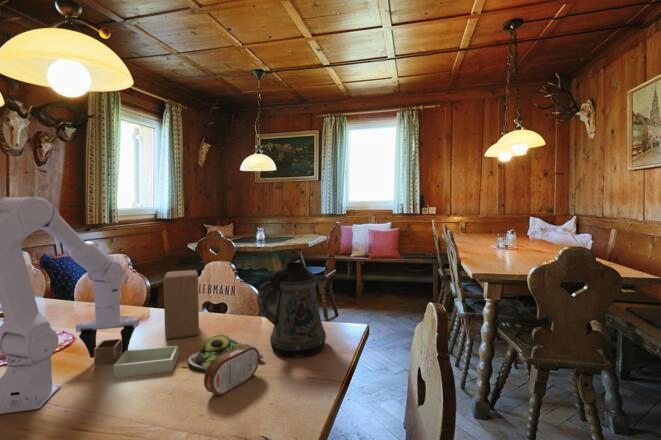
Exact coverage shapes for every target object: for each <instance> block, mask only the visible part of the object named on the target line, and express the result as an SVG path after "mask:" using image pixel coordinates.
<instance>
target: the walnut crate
mask: <svg viewBox="0 0 661 440" xmlns="http://www.w3.org/2000/svg"><path fill="white" fill-rule="evenodd" d="M122 355H123V354H122V338H115V339H114V338H113V339H103V340H101V341H100V342H99V343H98V344H96V347H95V348H94V357H93V361H94V362H93V364H94V365H93V366H94V368H101V367H102V368H103V367H111V366H114V365H115V363H116V362H117V361H118V360H119V358H120V357H121V356H122Z"/></svg>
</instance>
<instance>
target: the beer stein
mask: <svg viewBox="0 0 661 440" xmlns="http://www.w3.org/2000/svg"><path fill="white" fill-rule="evenodd" d="M317 282H318V278H317V276H316V275H315V274H314V273H313V272H311V270H309V269H307V268H306V267H305V266H304V263H303V262H289V263H286V264H285V266H284V267H283V268H281V269H279V270H275V271H272V272H271V273H269V275H268V281H265V282H263V283H262V284H260V286H259V288H258V291H257V294H256V302H257V306H258V309H259V310H260V312H261V314H262V315H263V317H264V318H266V319H267V320H268V321H269V322H270V323H271V324H273V329H272V331H271V335H270V338H269V339H270V340H269V341H270V345H271V349H272V352H273V353H274V354H275V355H277V356H278V357H282V358H286V359H294V360H296V359H305V358H310V357H313V356H316V355H319V354H320V353H322V352H323V351H324V349H325V345H326V344H325V343H326V339H327V333H326V331H325V328H324V326H323V322H322V318H321V314H320V310H319V309H320V308H319V303H318V297H317V295H318V294H317V289H316V286H317ZM276 291H277V298H276V304H275V305H276V306H275V314H274V312H273V311H272V310H271V309H270V308H269V306H268V304H267V300H266V298H267V295H268V294H269V293H270V292H276Z"/></svg>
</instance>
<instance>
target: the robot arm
mask: <svg viewBox="0 0 661 440" xmlns="http://www.w3.org/2000/svg"><path fill="white" fill-rule="evenodd" d="M37 230H40V231H44V232H46V233H47V234H49V236H50V237H53V238H54V239H55V240H56V241H58V242H59V243H61V245H63V246H64V247H65V248H66V249H68V250H70V258H71V259H72V260H73V261H74V262H75V263H77V265H78V266H80V267H82V269H84V270H85V271H86V272H87V278H88V279H89V280H91V281H93V289H94V292H93V293H94V313H95V314H94V315H95V316H94V317H95V318H94V319H95V320H90V321H89V320H88V321H84V322H82V321H81V322H78V323H77V324H75V333H80V334H79V335H78V337H79V339H80V340H81V341H82V343H83V344H84V345H85V348H86V349H87V351H88V354H89V357H90V359H94V348H95V347H96V346H97V332H98V330H107V329H109V330H110V329H117V328H118V329H119V328H122V329H121V330H120V336H121V337H120V338H121V339H122V354H123V353H124V352H125V351H126V350H129V345H130V342H131V338H132V336H133V333H134V331H135V329H136V328H138V326H139V325H140V318H139V317H121V291H120V290H121V289H120V288H121V286H122V280H123V277H124V276H125V269H124V268H123V266H122V265H121V263H120V262H118V261H115V260H114V261H113V260H112V259H111V256H110V255H109V254H106V253H104V251H103V250H101V249H100V248H99V247H100V245H99V243H97V242H93V241H89V240H88V241H85V240H83V239H82V237H81V236H80V235H79V234H78V233H77V232H76V231H75V230H74V229H73V228H72V227H71V226H70V225H69V223H67V222H66V221H65V220H64V218H63V217H62V216H61V215H60V212H59V209H58V208H56V207H55V206H54V205H52V204H51V202H50V201H49V200H47V199H46V198H44V197H41V196H30V197H25V196H24V197H12V196H6V197H1V198H0V307H1V311H2V313H3V317H4V322H3V323H2V324H1V325H0V353H2V354H3V355H6V357H5V358H6V362H7V364H6V370H5V372H4V373H3V374H2V376H0V415H1V414H9V413H17V412H25V411H33V410H37V409H40V408H41V407H42V406H43V405H44V404H45V403H46V402H47V401H48V400H49V399H50V398H51V397H53V395H54V394H55V393H56V392H57V391H58V390H59V389H60V388H61V387H62V385H61V384H59V383H58V384H53V376H52V375H53V373H52V371H53V369H52V357H53V353H54V352H55V350H57V348H58V345H59V335H58V334H57V333H58V332H56V331H55V330H54V329H53V328H52V327H51V324H50V322H49V320H48V319H46V318H45V317H44V316H43V315H42V314H41V313H40V312H39V308H38V304H37V300H36V296H35V294H34V290H33V286H32V282H31V278H30V274H29V271H28V268H27V264H26V259H25V255H24V252H23V249H22V243H23V242H24V241H25V240H26V238H27V237H29V236H30V235H31V234H33V233H34V232H36V231H37Z"/></svg>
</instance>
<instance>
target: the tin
mask: <svg viewBox="0 0 661 440" xmlns="http://www.w3.org/2000/svg"><path fill="white" fill-rule="evenodd" d="M243 344H244V345H241V346H239V347H237V348H235V349H233V350H230V351H228V352H226V353H224V354H221V355H219V356H217V357H216V358H215V359H214V360H213V361H212V362H211V363H210V365H209V366H208V368H207V370H206V371H205V373H204V376H203V377H204V378H203V386H204V387H205V390H206V391H207V392H209V393H212V394H214V395H217V396H223V395H225V394H227V393H228V392H231V391H232V390H234V389H235V388H237V387H240V385H242V384H244V383H247V381H249V380H250V379H251V378H252V377H253V376H254V375H255V374H256V371H257V369H258V367H259V362H260V361H259V360H260V359H259V354H260V353H259V352H260V351H259V349H258V350H257V349H256V348H254V347H252V346H250V345H251V344H249V345H248V344H247V343H243ZM258 351H259V352H258Z"/></svg>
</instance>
